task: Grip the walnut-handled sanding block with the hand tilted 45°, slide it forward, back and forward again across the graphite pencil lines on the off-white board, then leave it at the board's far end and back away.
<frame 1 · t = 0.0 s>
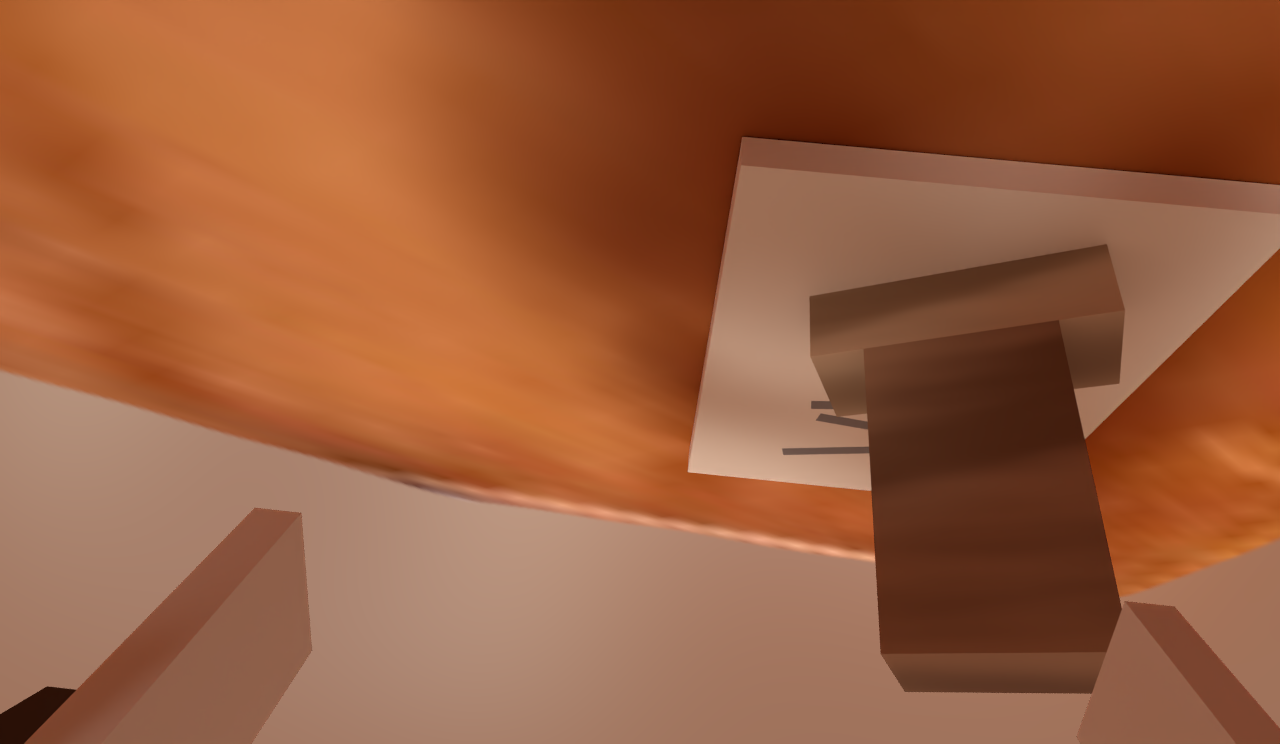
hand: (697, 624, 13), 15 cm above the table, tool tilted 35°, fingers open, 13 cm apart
sanding block: (955, 308, 28), point 1 cm above the table, touching marked board
marked board: (911, 353, 32), on the table
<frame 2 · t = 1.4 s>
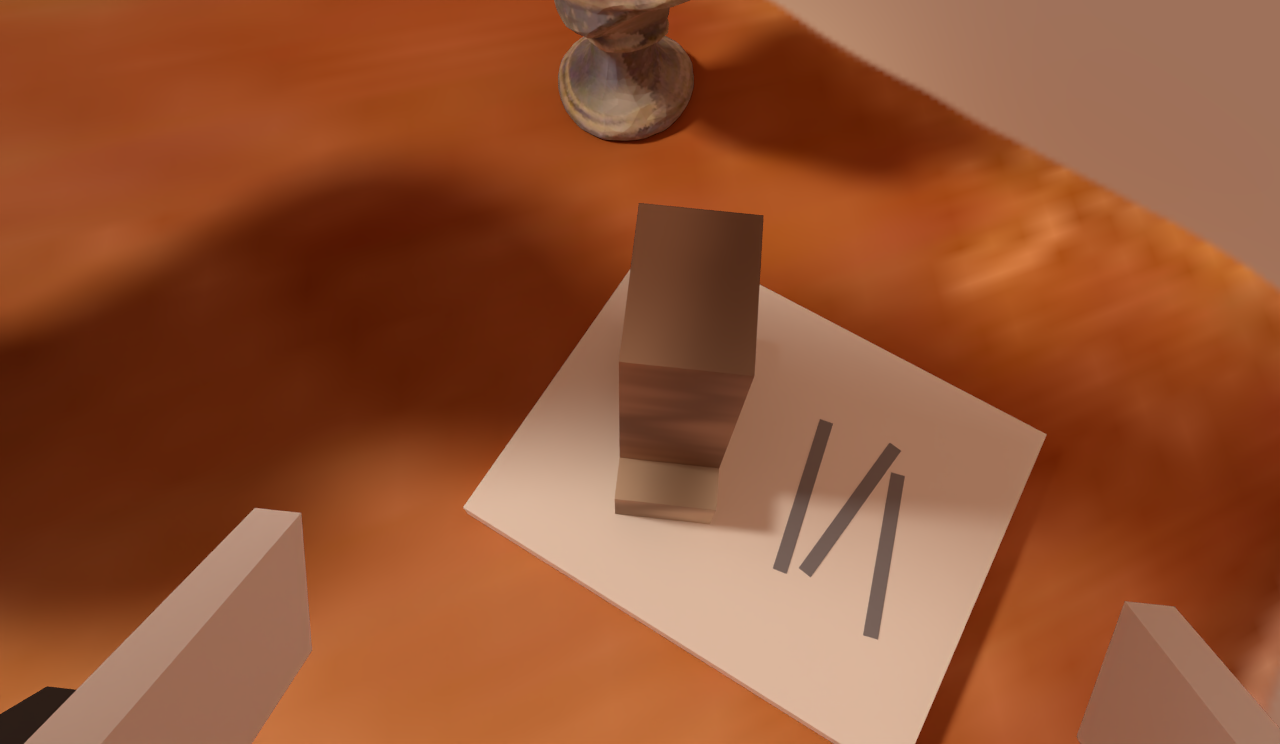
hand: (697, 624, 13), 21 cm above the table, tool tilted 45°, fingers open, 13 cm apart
sanding block: (672, 418, 36), point 1 cm above the table, touching marked board
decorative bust: (595, 87, 45), on the table
marked board: (758, 477, 37), on the table
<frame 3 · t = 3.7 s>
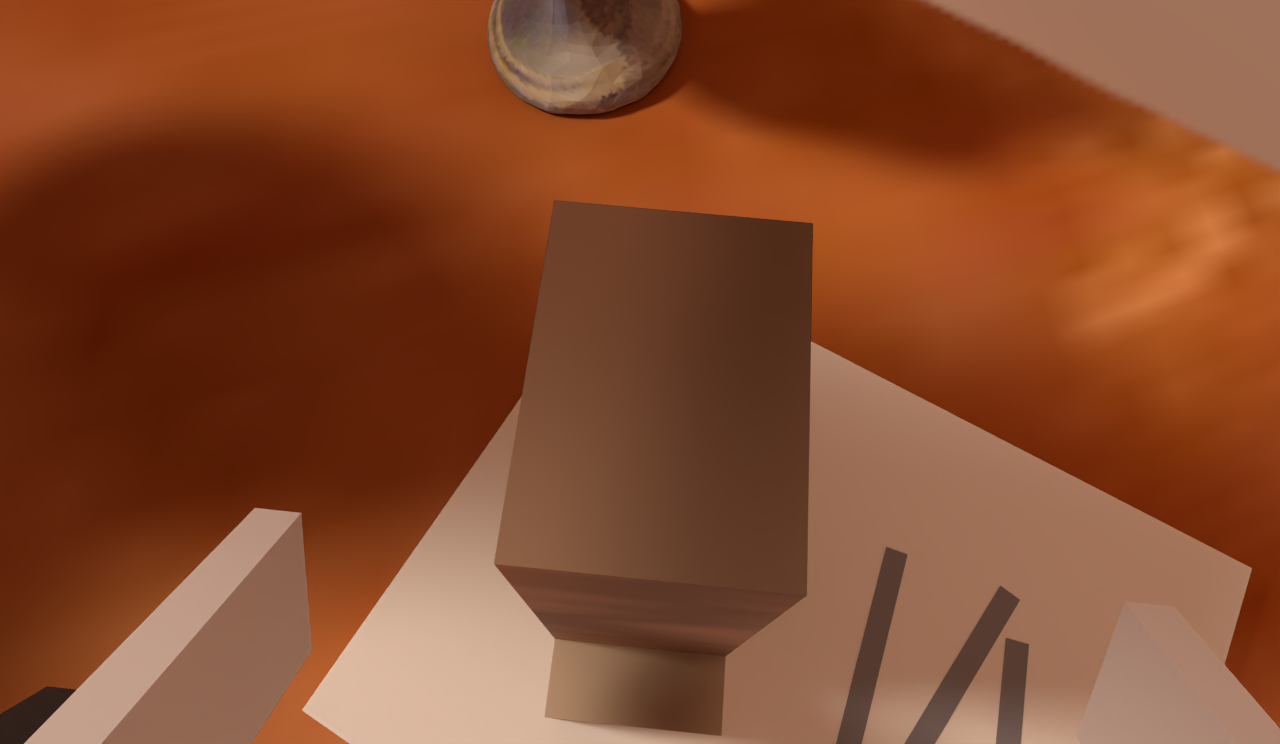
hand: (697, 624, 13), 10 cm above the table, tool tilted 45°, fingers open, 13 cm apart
sanding block: (648, 549, 23), point 1 cm above the table, touching marked board
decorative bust: (541, 40, 32), on the table
marked board: (787, 640, 23), on the table
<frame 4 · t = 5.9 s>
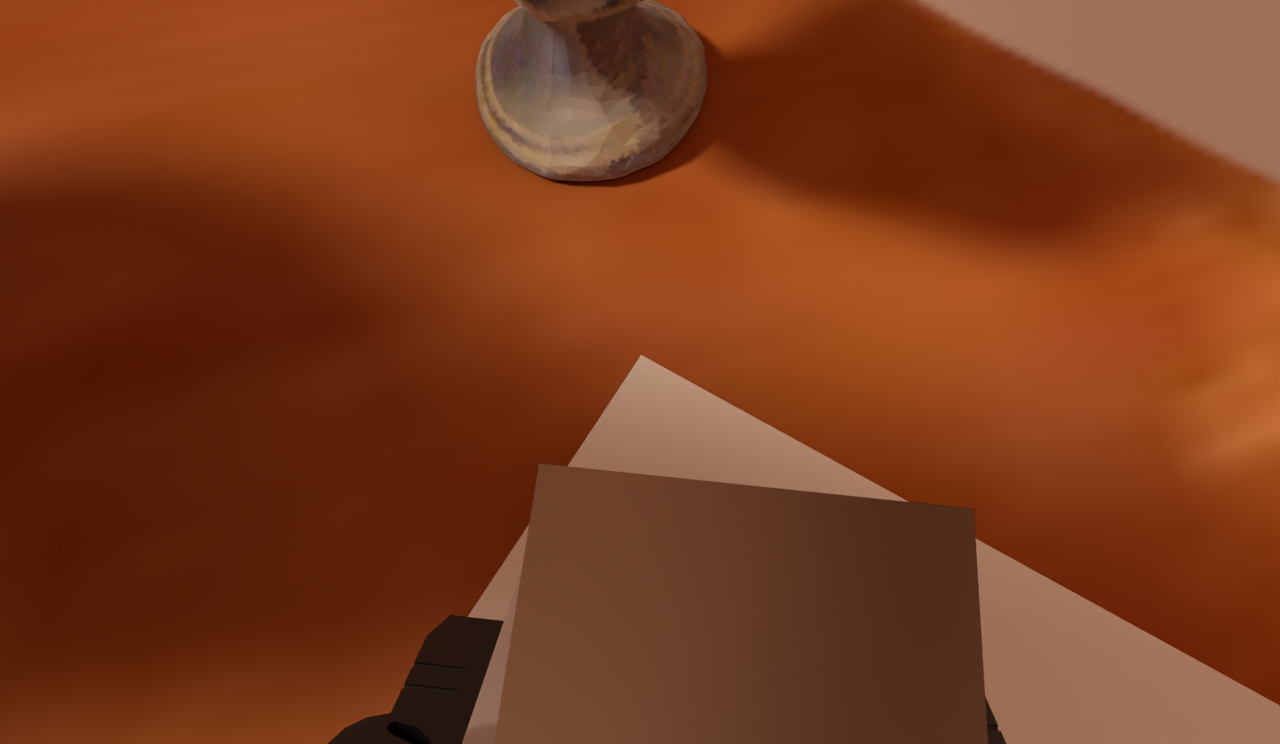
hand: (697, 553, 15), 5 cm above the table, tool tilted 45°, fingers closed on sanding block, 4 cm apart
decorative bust: (539, 89, 27), on the table
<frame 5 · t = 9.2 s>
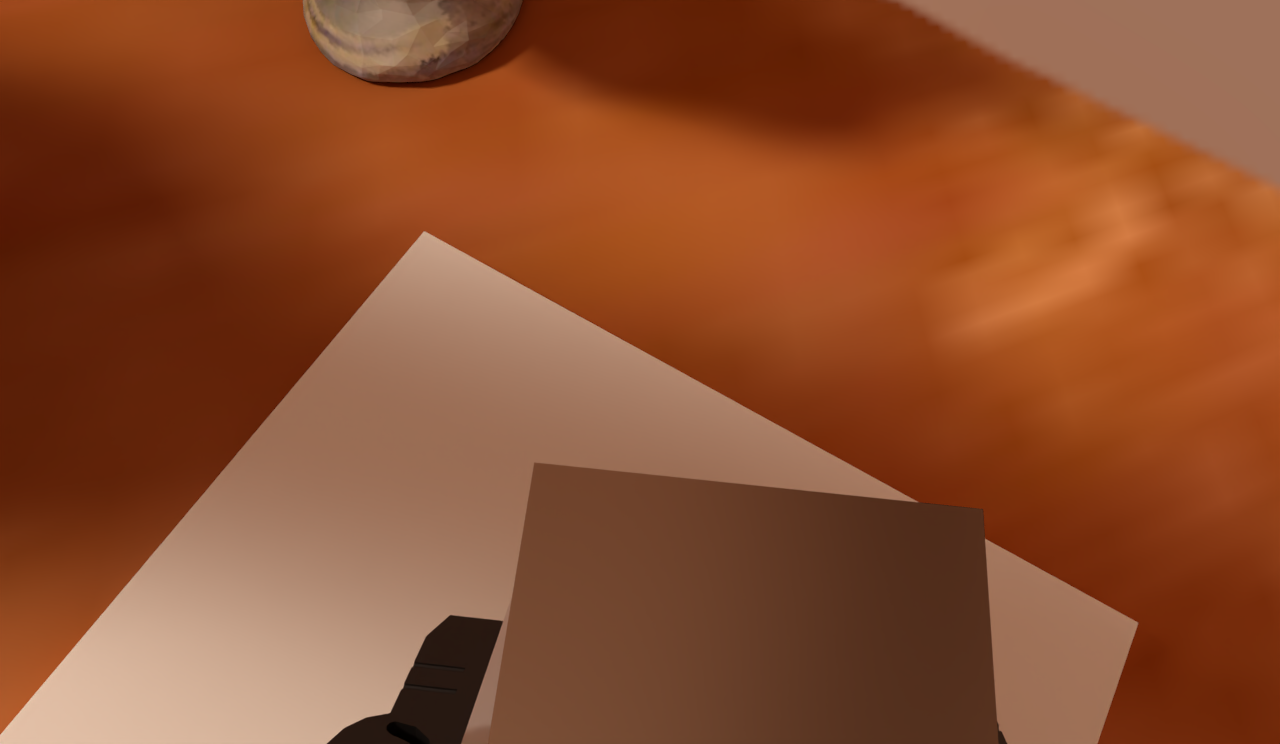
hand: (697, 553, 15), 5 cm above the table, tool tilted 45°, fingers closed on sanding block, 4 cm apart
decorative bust: (368, 1, 28), on the table
marked board: (575, 706, 19), on the table
when the fingers open (5 cm above the table, at t = 12.6 s): sanding block stays where it is, resting on marked board.
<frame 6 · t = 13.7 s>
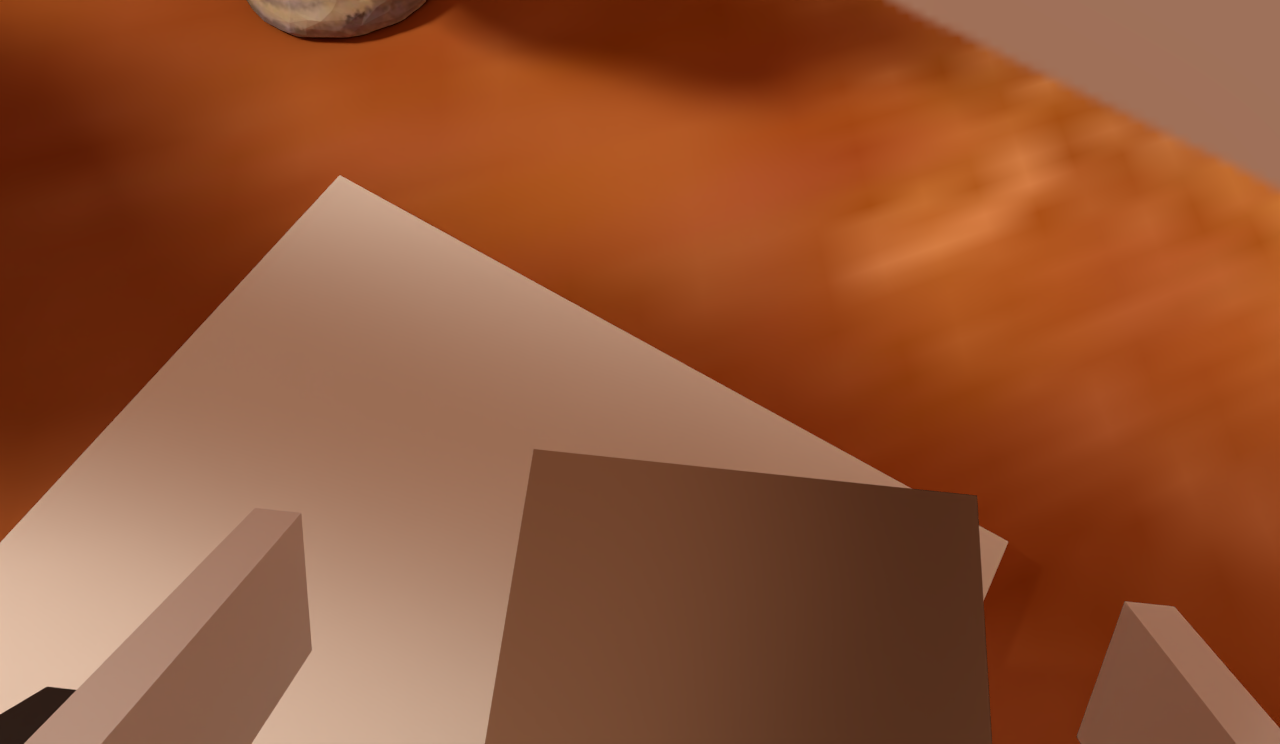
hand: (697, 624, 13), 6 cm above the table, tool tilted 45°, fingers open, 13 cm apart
marked board: (468, 621, 20), on the table
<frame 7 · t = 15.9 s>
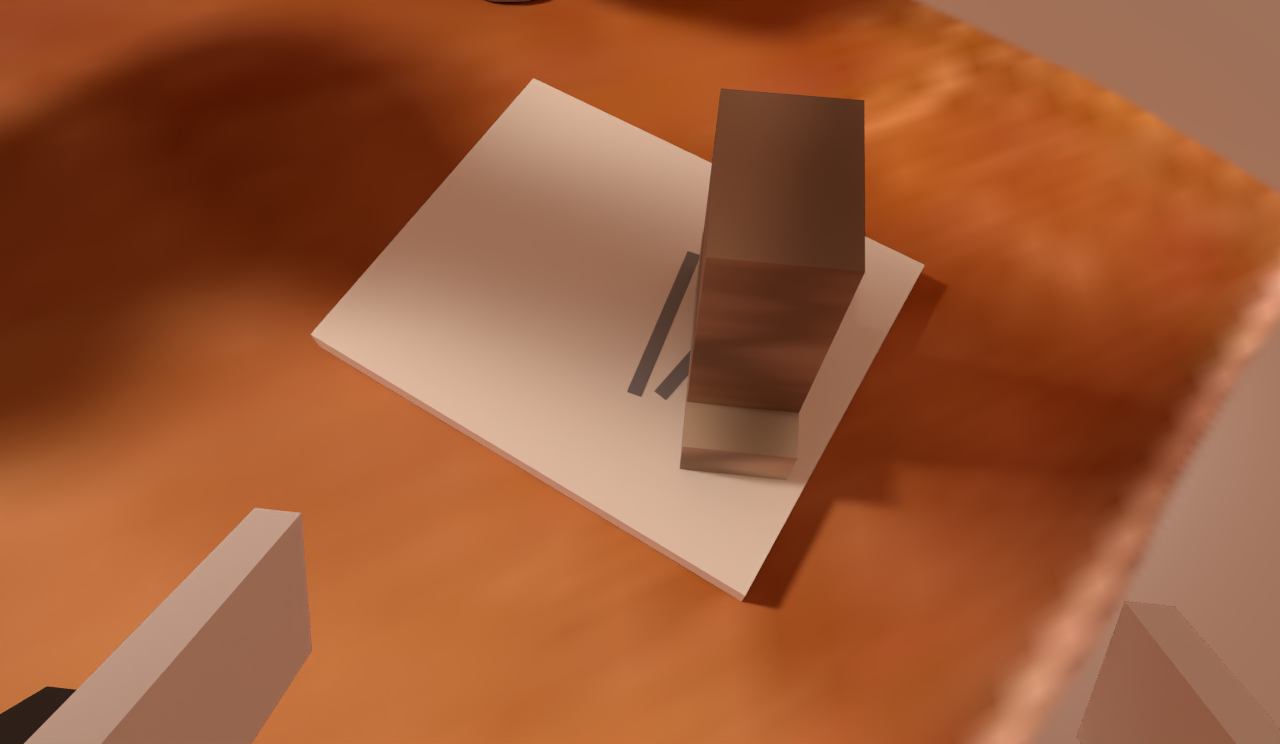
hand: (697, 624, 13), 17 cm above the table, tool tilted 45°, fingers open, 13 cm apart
sanding block: (739, 366, 33), point 1 cm above the table, touching marked board
marked board: (624, 312, 35), on the table
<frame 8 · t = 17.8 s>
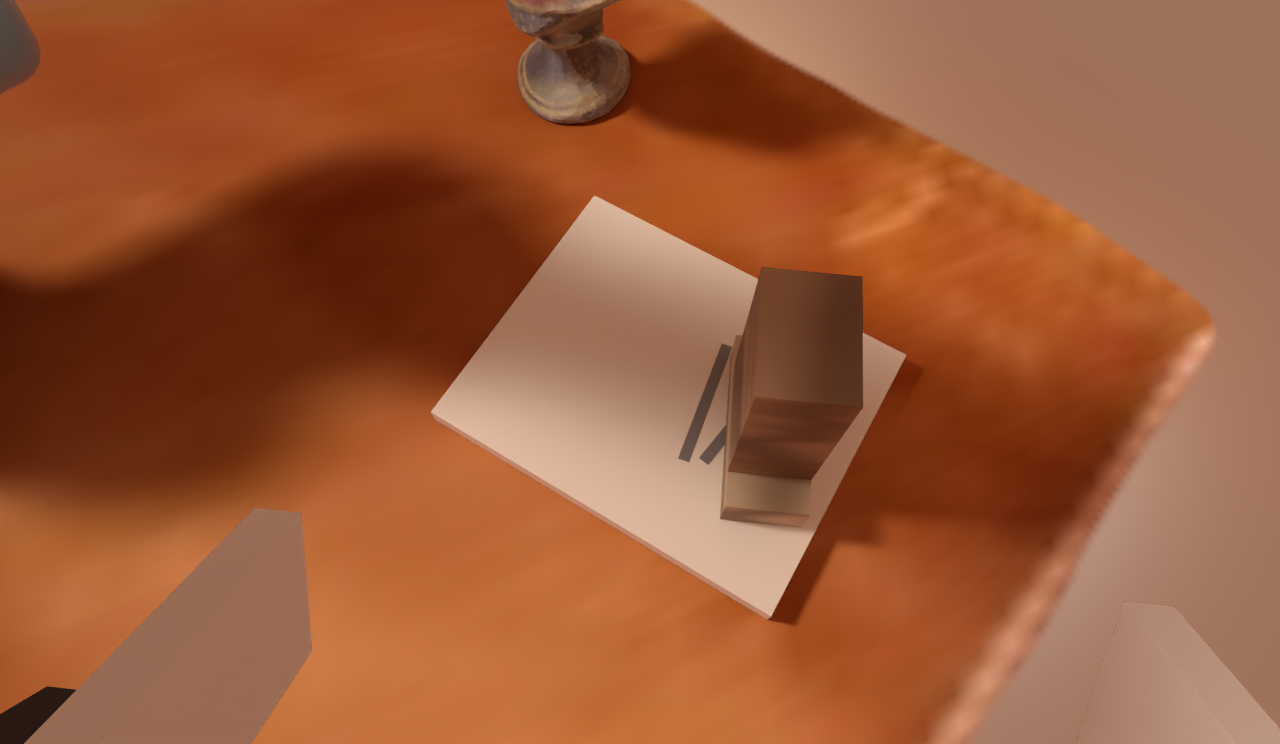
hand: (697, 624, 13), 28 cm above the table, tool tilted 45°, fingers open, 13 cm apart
sanding block: (764, 437, 43), point 1 cm above the table, touching marked board
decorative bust: (548, 80, 54), on the table
marked board: (672, 391, 45), on the table
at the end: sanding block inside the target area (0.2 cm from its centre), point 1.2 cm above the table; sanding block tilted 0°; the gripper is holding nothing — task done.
